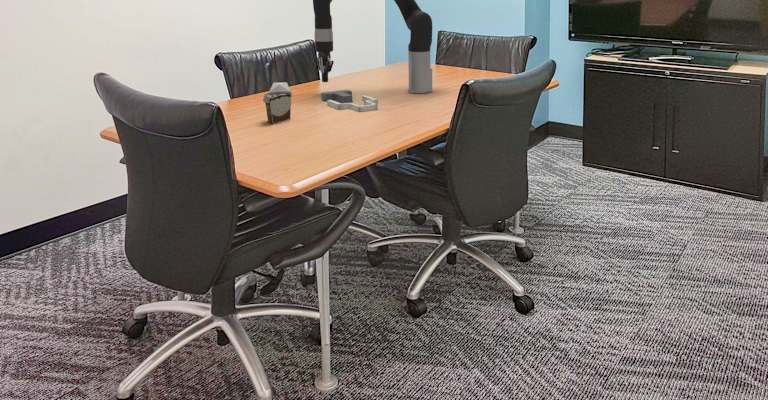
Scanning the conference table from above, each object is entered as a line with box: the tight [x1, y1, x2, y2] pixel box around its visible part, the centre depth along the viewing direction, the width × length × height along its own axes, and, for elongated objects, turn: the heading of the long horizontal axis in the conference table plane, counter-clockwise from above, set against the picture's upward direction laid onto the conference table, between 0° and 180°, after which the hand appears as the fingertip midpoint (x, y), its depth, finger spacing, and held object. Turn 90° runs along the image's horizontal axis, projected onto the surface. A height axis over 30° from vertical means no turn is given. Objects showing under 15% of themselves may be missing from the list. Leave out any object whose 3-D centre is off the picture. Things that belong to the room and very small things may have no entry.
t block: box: [320, 89, 353, 104], centre depth 306 cm, size 12×12×3 cm
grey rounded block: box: [268, 82, 293, 96], centre depth 303 cm, size 8×9×10 cm
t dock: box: [327, 94, 379, 113], centre depth 294 cm, size 17×18×2 cm
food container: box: [262, 91, 293, 125], centre depth 272 cm, size 12×6×10 cm, turn 145°
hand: (325, 81), depth 316 cm, fingers closed
